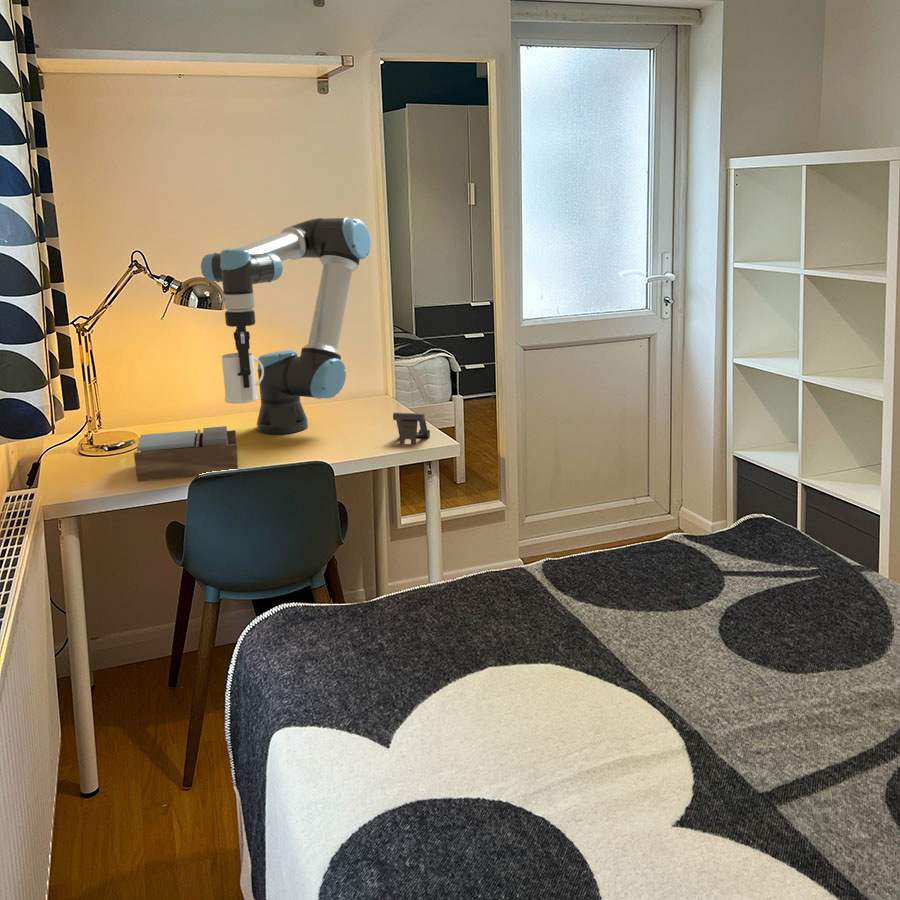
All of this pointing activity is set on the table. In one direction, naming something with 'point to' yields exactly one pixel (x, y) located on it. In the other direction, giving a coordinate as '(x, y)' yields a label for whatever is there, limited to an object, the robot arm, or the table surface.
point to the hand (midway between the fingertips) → (246, 396)
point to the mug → (238, 378)
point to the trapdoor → (183, 439)
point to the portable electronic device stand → (411, 426)
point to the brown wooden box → (186, 460)
